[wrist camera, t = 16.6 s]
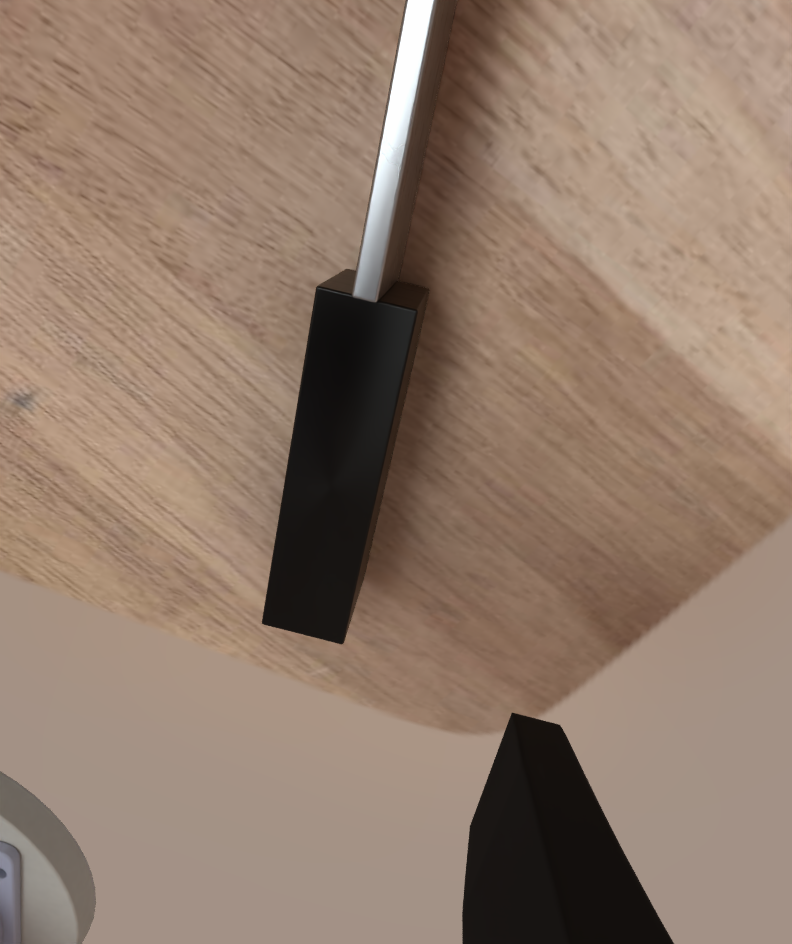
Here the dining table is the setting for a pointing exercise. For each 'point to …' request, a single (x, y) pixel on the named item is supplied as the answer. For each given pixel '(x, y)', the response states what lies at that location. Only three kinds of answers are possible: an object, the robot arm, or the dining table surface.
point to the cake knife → (358, 365)
